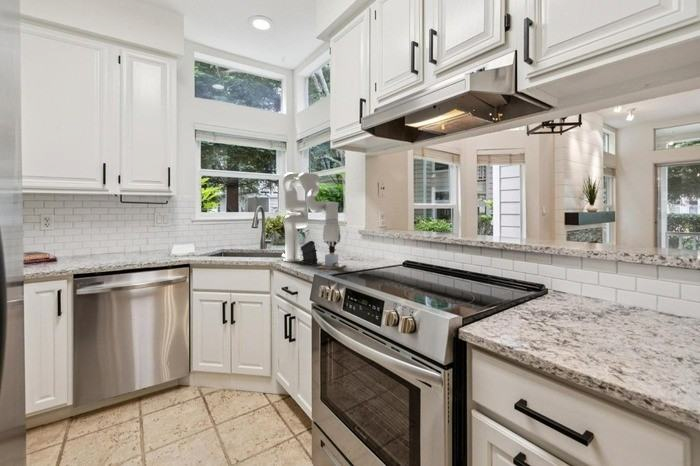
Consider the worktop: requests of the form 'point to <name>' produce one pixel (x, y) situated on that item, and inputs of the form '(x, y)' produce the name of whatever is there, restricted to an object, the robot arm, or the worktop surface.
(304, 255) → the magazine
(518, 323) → the worktop surface
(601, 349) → the worktop surface
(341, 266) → the rail board
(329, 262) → the module
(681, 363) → the worktop surface
